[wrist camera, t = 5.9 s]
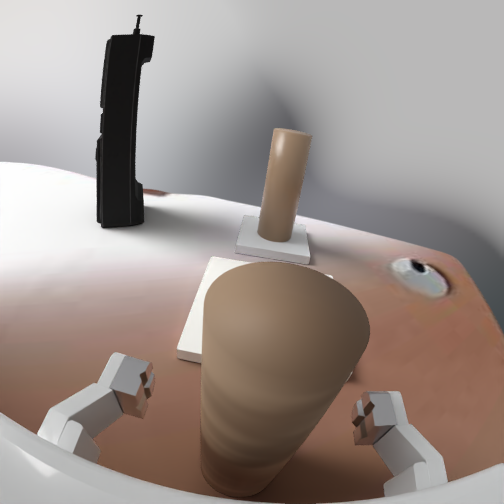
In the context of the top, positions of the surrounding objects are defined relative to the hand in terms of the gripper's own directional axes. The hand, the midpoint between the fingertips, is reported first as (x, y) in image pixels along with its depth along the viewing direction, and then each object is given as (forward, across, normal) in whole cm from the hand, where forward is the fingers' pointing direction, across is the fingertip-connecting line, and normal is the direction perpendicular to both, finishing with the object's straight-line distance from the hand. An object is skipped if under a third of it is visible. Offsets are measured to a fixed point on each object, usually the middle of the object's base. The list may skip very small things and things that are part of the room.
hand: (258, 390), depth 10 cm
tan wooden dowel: (+25, -1, +7) cm, 26 cm away
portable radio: (+26, +19, +7) cm, 33 cm away
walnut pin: (-1, 0, +7) cm, 7 cm away
